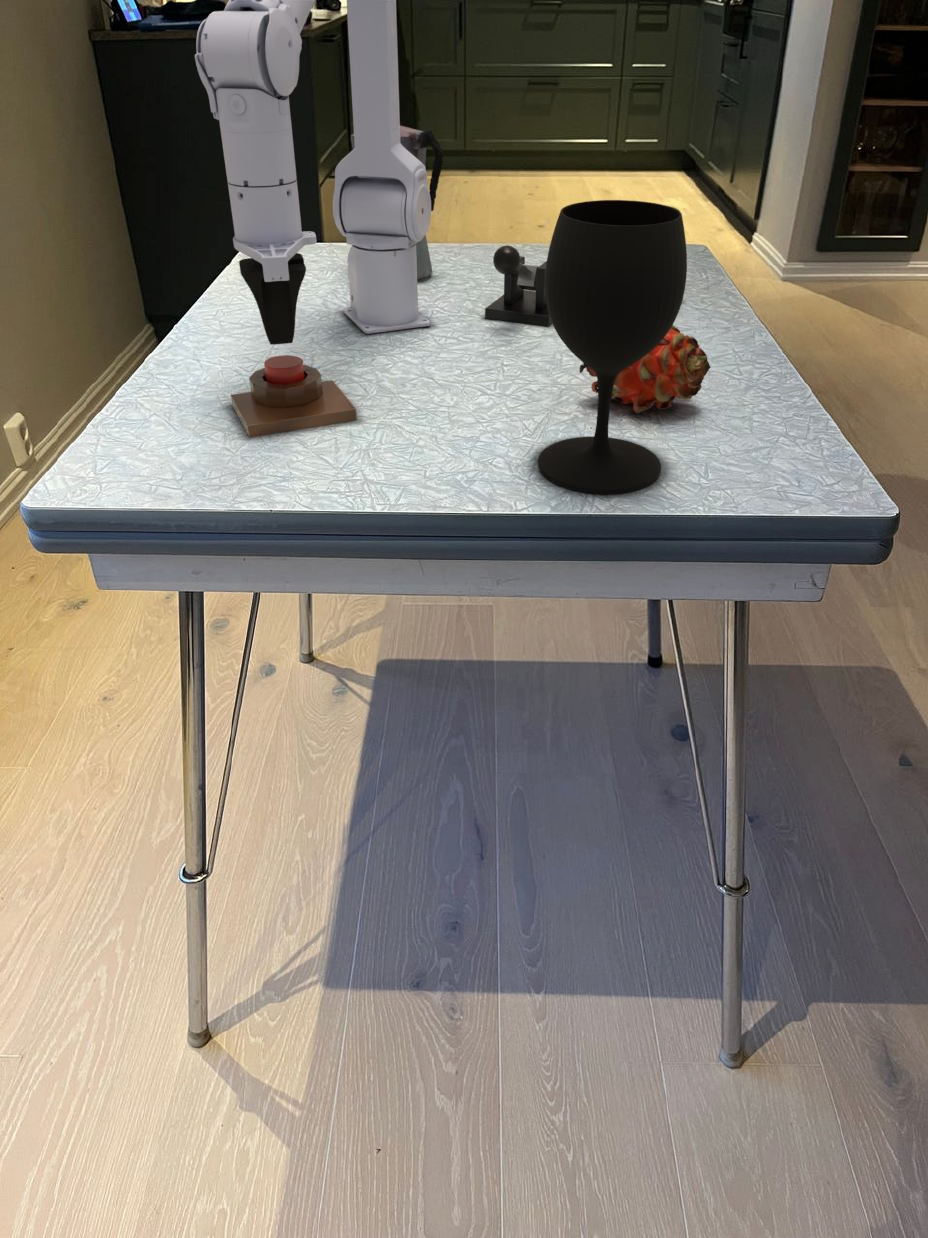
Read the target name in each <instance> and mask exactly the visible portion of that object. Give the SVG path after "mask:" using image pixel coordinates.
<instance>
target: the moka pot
mask: <svg viewBox="0 0 928 1238" xmlns="http://www.w3.org/2000/svg"><path fill="white" fill-rule="evenodd" d="M350 141H351V142H350V143H351V147H352V150H353V149H354V148H355V143H354V133H352V134H351V135H350ZM400 143H401V144H402V146H403V147H404V148H405V149H406V150H408V151H409V152H410V153H411V154H412V155H413V156H415V157H416V158H417V159H418V160H419V161H420V162H421V163H422V164H423V165H424V166H425V167H426V161H427V148H428V147H430V148H431V149H432V150H433V151H434V159H433V162H432V171H431V177H430V179H429V186H428V190H429V193H430V198H431V212H434V209H435V203H436V201H435V200H436V198H437V190H438V187H439V186H438V185H439V182H440V181H439V180H440V177H441V173H442V169H443V168H442V166H443V164H444V163H443V162H444V161H443V158H444V150H443V149H442V146H441V144H440V142H439V141H438V140H437V139H436V138H435V134H433V129H427V130H424V131H423V130H420V129H415V128H411V127H409V126H404V125H400ZM359 178H378V179H395V178H387V177H368V176H359ZM396 180H398V179H396ZM416 258H417V280H421V279H426V278H427V277H429V276H430V275H431V274H432V272H433V267H432V266H433V265H432V261H431V256H430V251H429V244H428V239H427V234H426V235H425V236H424V237H423V239H422V240H421V241H419V242H417V243H416Z"/></svg>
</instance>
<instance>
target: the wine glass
mask: <svg viewBox="0 0 928 1238" xmlns="http://www.w3.org/2000/svg"><path fill="white" fill-rule="evenodd" d="M669 206H670V205H665V204H661V203H657V202H656V203H655V202H649V201H641V200H627V199H601V200H600V199H598V200H587V201H580V202H575V203H572V204H568V205H565V206H563V207H562V208H561V209H560V211H559V214H558V217H557V219H556V223H555V226H554V228H553V229H554V230H553V232H552V236H551V240H550V244H549V247H548V252H547V258H546V261H547V263H546V272H545V296H546V304H547V308H548V312H549V315H550V318H551V321H552V323H551V325H552V326H553V328H554V330H555V332H556V335H558V337H559V338H560V340H561V341H562V342H563V344H564V345H565V346H566V348H568V350H569V351H570V352H571V353H572V354H573V355H574V356H575V357H576V358H577V359H579V360H580V361H581V362H582V363H585V364H586V365H587V366H588V367H590V368H591V369H592V370H593V371H594V372H595V373H596V376H597V377H596V379H597V380H596V381H598V393H597V412H596V413H597V414H596V422H595V423H596V424H595V431H594V436H578V437H571V438H566V439H562V440H559V441H556V442H554V443H551V444H550V445H548V446H546V447H545V448H544V449H543V450H542V451H541V452H539V455H538V457H537V468H538V470H539V472H540V473H541V474H542V475H543V477H544V478H546V479H547V480H548V481H550V482H551V483H553V484H555V485H558V486H560V487H562V488H565V489H568V490H570V491H571V490H572V491H576V492H581V493H586V494H587V493H588V494H596V495H597V494H598V495H616V494H624V493H630V492H635V491H639V490H641V489H644V488H646V487H648V486H650V485H652V484H653V483H655V481H657V480H658V478H659V477H660V475H661V473H662V463H661V461H660V459H659V457H658V456H657V454H656V453H654V452H653V451H651V450H650V449H648V447H647V448H646V447H645V446H643V445H641V444H638V443H636V442H633V441H630V440H626V439H621V438H616V437H609V424H610V423H609V422H610V411H611V410H610V409H611V403H612V402H611V401H612V398H611V396H612V391H613V386H614V382H615V379H616V377H617V375H618V374H619V373H620V372H621V371H623V370H624V369H626V368H628V367H630V366H631V365H633V364H634V363H636V362H637V361H639V360H640V359H642V358H643V357H645V356H646V355H647V354H648V353H649V352H651V351H652V350H653V349H654V348H655V347H656V346H657V345H658V344H659V343H660V342H661V341H662V339H663V338H664V337H665V336H666V334H667V333H668V332H669V330H670V329H671V327H672V325H673V326H674V323H675V321H676V319H677V317H678V314H679V312H680V309H681V306H682V304H683V300H684V295H685V291H686V283H687V273H688V253H687V240H686V239H687V238H686V232H685V226H684V219H683V214H682V212H681V210H679V209H678V208H677V209H678V210H679V211H678V210H677V209H675V208H676V207H674V208H672V207H673V206H671V207H669Z"/></svg>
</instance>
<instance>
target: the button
mask: <svg viewBox="0 0 928 1238" xmlns="http://www.w3.org/2000/svg"><path fill="white" fill-rule="evenodd" d="M303 365H304V360H303V358H301V357H299V356H297V355H289V354H288V355H286V354H285V355H276V356H272V357H269V358H267V359H266V360H265V361H264V362H263V368H265V375H266V381H267V382H269V383H272V384H291V383H297V382H300V381H302V380H304V379H305V375H304V366H303Z"/></svg>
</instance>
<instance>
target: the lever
mask: <svg viewBox="0 0 928 1238" xmlns="http://www.w3.org/2000/svg"><path fill="white" fill-rule="evenodd" d="M520 256H521V255H520V252H519V250H518V249H517V248H515V247H514V246H512V245H508V244H507V245H501V246H500V247H499V248H497V249H496V251H495V252H494V255H493V259H492V262H493V266H494V269H495V270H496V271H497V272H498V273H500V274H502V275H504V274H505V275H508V274H512V273H514V274H516V275H517V276H518V279H517V285H518V286H519V287H521V288H522V289H523V290H528V291H536V277H537V268H538V267H539V266H538V265H534V264H526V263H525V264H522V263H520Z"/></svg>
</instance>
